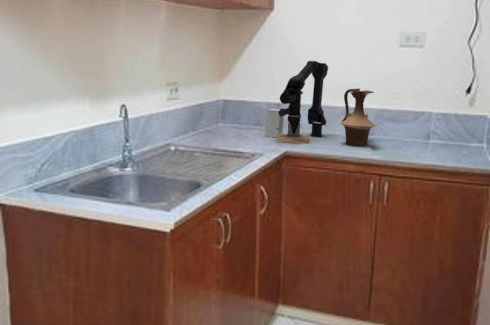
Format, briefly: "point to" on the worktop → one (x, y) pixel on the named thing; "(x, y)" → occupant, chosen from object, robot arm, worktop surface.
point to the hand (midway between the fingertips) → (293, 133)
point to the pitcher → (357, 119)
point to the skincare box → (273, 123)
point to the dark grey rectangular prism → (291, 131)
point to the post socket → (293, 138)
